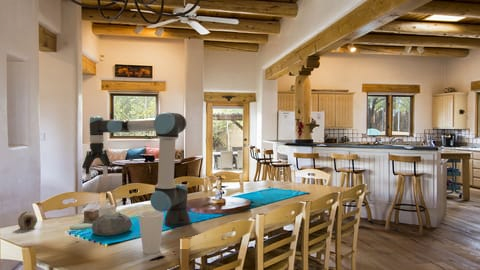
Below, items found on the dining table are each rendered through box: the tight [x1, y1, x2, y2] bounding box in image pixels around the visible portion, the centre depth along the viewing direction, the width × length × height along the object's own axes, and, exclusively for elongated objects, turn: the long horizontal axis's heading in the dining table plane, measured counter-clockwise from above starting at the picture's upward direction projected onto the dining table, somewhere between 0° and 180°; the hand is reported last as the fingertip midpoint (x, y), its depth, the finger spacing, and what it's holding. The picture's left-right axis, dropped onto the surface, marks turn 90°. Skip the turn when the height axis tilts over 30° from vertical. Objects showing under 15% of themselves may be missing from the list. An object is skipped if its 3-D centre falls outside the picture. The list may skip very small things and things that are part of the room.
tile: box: [78, 218, 94, 224], centre depth 215 cm, size 11×11×1 cm
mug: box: [98, 204, 116, 217], centre depth 203 cm, size 9×12×11 cm
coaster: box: [69, 222, 93, 231], centre depth 199 cm, size 12×12×1 cm
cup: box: [138, 210, 165, 255], centre depth 159 cm, size 11×10×17 cm
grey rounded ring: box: [17, 211, 38, 231], centre depth 197 cm, size 9×8×10 cm
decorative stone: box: [91, 211, 133, 236], centre depth 189 cm, size 18×21×10 cm
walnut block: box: [83, 208, 99, 221], centre depth 215 cm, size 6×6×6 cm
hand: (97, 178), depth 210 cm, fingers open, 13 cm apart
